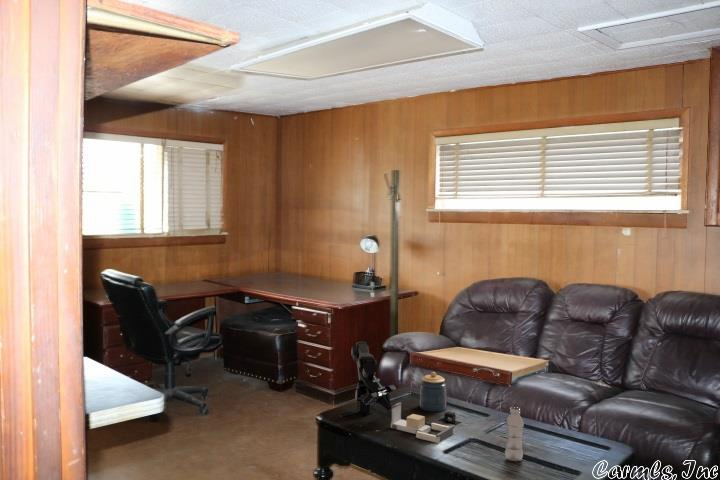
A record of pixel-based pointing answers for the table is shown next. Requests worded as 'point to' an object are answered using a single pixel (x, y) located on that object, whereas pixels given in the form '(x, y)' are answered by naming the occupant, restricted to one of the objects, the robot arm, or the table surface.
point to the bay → (439, 437)
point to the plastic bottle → (514, 435)
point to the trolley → (408, 421)
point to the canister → (433, 393)
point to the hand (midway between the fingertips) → (390, 410)
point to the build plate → (450, 421)
